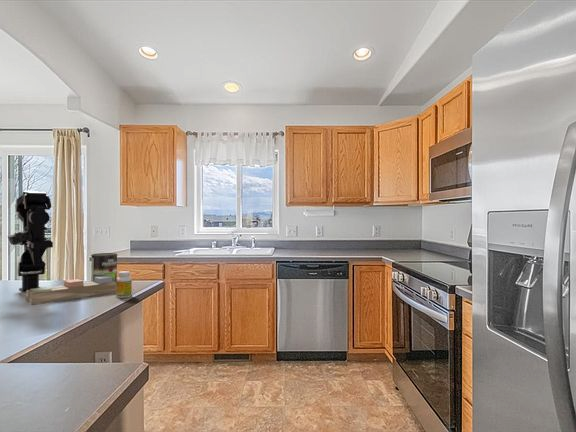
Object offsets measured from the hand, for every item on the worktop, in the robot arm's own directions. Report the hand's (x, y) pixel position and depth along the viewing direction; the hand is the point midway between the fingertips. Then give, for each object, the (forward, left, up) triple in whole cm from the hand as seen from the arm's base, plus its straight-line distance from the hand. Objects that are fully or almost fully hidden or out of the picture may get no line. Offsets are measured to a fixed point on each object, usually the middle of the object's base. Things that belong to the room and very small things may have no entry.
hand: (35, 265), depth 139 cm
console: (+10, +10, -12) cm, 19 cm away
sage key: (+10, -1, -11) cm, 15 cm away
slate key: (+10, +21, -10) cm, 25 cm away
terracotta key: (+10, +10, -10) cm, 17 cm away
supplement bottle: (+24, +23, -12) cm, 35 cm away
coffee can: (-1, +26, -12) cm, 29 cm away
